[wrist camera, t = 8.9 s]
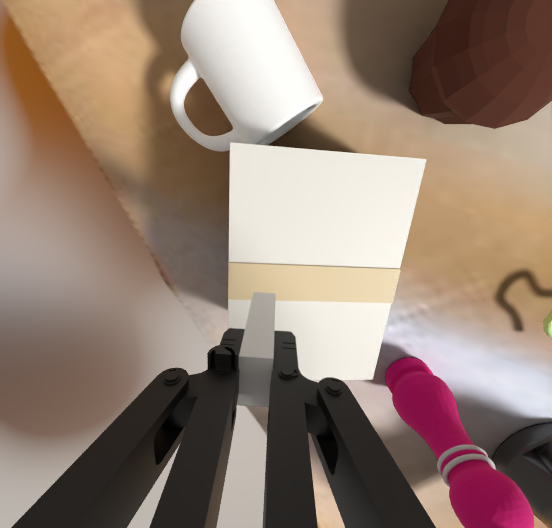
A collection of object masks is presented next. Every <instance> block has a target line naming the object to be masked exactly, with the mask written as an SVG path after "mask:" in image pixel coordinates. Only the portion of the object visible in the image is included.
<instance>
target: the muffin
mask: <svg viewBox="0 0 552 528" xmlns="http://www.w3.org/2000/svg"><path fill="white" fill-rule="evenodd" d="M409 92H410V93H411V95H412V96H413V98H414V100H415V101H416V103H417V106H418V108H419V111H420V113H421V115H422V116H426V117H430V118H434V119H436V120H438V121H440V122H442V123H444V124H475V125H480V126H485V127H490V128H494V129H495V128H499V127H503V126H506V125H510V124H513V123H517V122H520V121H524V120H528V119H529V118H530V117H531V116H533V115H534V114H535V113H537V112H538V111H539V110H540V109H542V108H543V107H544V106H546V105H547V104H548V103H549V102H551V101H552V0H449V1H448V3H447V5H446V7H445V9H444V11H443V13H442V15H441V18H440V20H439V22H438V24H437V26H436V27H435V28H434V30H433V31H432V33H431V35H430V36H429V38H428V39H427V40H426V42H425V43H424V44H423V45H422V47H421V48H420V49H419V51H418V52H417V53H416V55H415V56H414V57H413V69H412V78H411V83H410V87H409Z"/></svg>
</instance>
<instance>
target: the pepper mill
mask: <svg viewBox="0 0 552 528" xmlns="http://www.w3.org/2000/svg"><path fill="white" fill-rule="evenodd" d="M385 381H386V383H387V386H388V387H389V389H390V391H391V393H392V394H393V396H392V400H393V405H394V407H395V409H396V411H397V412H398V414H399V415H400V417H401V418H402V419H403V420H404V421H405V423H406V424H408V425H409V426H410V427H411V428H412V429H414V430H415V431H416V432H417V433H418V434H419V435H420V436H421V437H422V438H423V439H424V440H425V441H426V442H427V443H428V445H429V446H430V448H431V449H432V451H433V452H434V454H435V456H436V458H437V460H438V462H437V468H438V471H439V473H440V474H441V475H442V477H443V480H444V482H445V483H446V484H447V485H448V486H449V487H450V490H449V497H450V501H451V505H452V507H453V509H454V512H455V514H456V515H457V517H458V519H459V520H460V522H461V523H462V525H463V526H464V527H465V528H533V527H534V517H533V512H532V509H531V507H530V504H529V502H528V500H527V498H526V497H525V495H524V494H523V492H522V491H521V489H520V488H519V487H518V486H517V484H516V483H515V482H514V481H513V480H512V479H510V478H509V477H508V476H506V475H505V474H503V473H501V472H500V471H497V470H496V468H495V465H494V463H493V461H492V460H491V459H490V458H488V455H487V453H486V452H485V451H484V450H483V449H482V448H480V447H478V446H475V444H474V443H473V442H472V441H471V440H470V438H469V436H468V435H467V433H466V431H465V430H464V428H463V425H462V423H461V420H460V417H459V413H458V409H457V405H456V402H455V399H454V397H453V394H452V392H451V391H450V389H449V388H448V386H447V385H446V384H445V382H444V381H442V380H441V379H440V378H438V377H437V376H434V375H433V373H432V372H431V370H430V369H429V368H428V367H427V365H426V364H425V363H424V362H423V361H421V360H419V359H416V358H403V359H400V360H397V361H396V362H394V363H393V364H392V365H391V366H390V367H389V368H388V369H387V371H386V374H385Z"/></svg>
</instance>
